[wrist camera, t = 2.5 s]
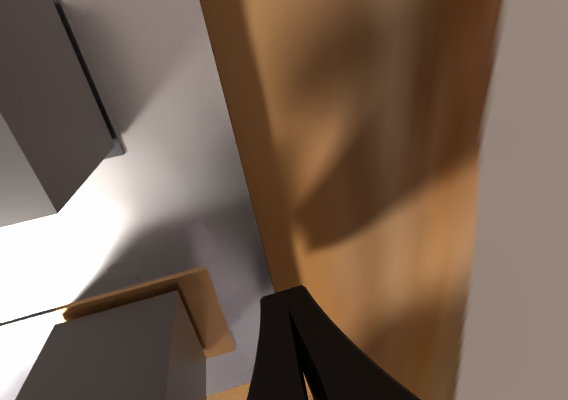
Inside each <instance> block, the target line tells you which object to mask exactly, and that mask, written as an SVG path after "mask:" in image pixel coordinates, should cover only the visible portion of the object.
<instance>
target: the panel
mask: <svg viewBox="0 0 568 400" xmlns="http://www.w3.org/2000/svg"><path fill="white" fill-rule="evenodd" d="M53 2H54V5H55V7H56V9H57V12H58V14H59V16H60V19H61V21H62V23H63V26H64V28H65V30H66V33H67V35H68V37H69V40H70V42H71V44H72V47H73V49H74V51H75V54H76V56H77V58H78V61H79V63H80V65H81V68H82V70H83V72H84V74H85V77H86V79H87V81H88V84H89V86H90V88H91V91H92V93H93V95H94V98H95V100H96V102H97V105H98V107H99V109H100V112H101V114H102V116H103V119H104V121H105V123H106V126H107V128H108V130H109V133H110V135H111V137H112V140H113V142H114V144H115V147H114V148H113V149H112V150H111V151H110V153H109V154H108V155H107V156H106V157H105V158H104V160H103V161H102V162H101V163H100V164H99V166H98V167H97V168H96V169H95V170H94V171H93V173H92V174H91V175H90V176H89V177H88V179H87V180H86V181H85V182H84V183H83V184H82V186H81V187H80V188H79V189H78V190H77V192H76V193H75V194H74V195H73V196H72V197H71V199H70V200H69V201H68V202H67V203H66V205H65V206H64V207H63V208H62V209H61V210H60V212H59V213H58V214H55V215H51V216H47V217H43V218H39V219H35V220H31V221H27V222H23V223H19V224H15V225H11V226H7V227H3V228H0V400H15V399H16V397H17V395H18V393H19V391H20V389H21V387H22V386H23V384H24V382H25V380H26V378H27V376H28V374H29V372H30V370H31V369H32V367H33V365H34V363H35V361H36V359H37V357H38V355H39V353H40V351H41V350H42V348H43V346H44V344H45V342H46V340H47V338H48V336H49V334H50V333H51V331H52V329H53V327H54V325H55V324H59V323H62V322H66V321H69V320H73V319H77V318H80V317H84V316H87V315H91V314H94V313H98V312H101V311H105V310H109V309H112V308H116V307H119V306H123V305H126V304H130V303H133V302H137V301H141V300H144V299H148V298H151V297H155V296H158V295H162V294H165V293H169V292H173V291H176V290H177V291H178V293H179V295H180V298H181V300H182V302H183V305H184V307H185V309H186V312H187V314H188V316H189V319H190V321H191V323H192V326H193V328H194V330H195V333H196V335H197V337H198V340H199V342H200V344H201V347H202V349H203V351H204V354H205V356H206V396H209V395H212V394H215V393H218V392H221V391H224V390H228V389H231V388H234V387H237V386H240V385H243V384H247V383H250V382H251V379H252V374H253V369H254V364H255V359H256V352H257V345H258V338H259V329H260V300H261V298H262V297H263V296H266V295H270V294H273V293H275V292H274V288H273V284H272V280H271V276H270V273H269V269H268V265H267V261H266V257H265V253H264V249H263V245H262V242H261V238H260V234H259V230H258V226H257V222H256V218H255V214H254V210H253V207H252V203H251V199H250V195H249V191H248V187H247V183H246V179H245V176H244V172H243V168H242V164H241V160H240V156H239V152H238V148H237V144H236V141H235V137H234V133H233V129H232V125H231V121H230V117H229V113H228V110H227V106H226V102H225V98H224V94H223V90H222V86H221V82H220V79H219V75H218V71H217V67H216V63H215V59H214V55H213V51H212V47H211V44H210V40H209V36H208V32H207V28H206V24H205V20H204V16H203V13H202V9H201V5H200V1H199V0H53Z"/></svg>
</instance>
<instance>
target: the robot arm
mask: <svg viewBox="0 0 568 400" xmlns="http://www.w3.org/2000/svg"><path fill="white" fill-rule="evenodd" d="M303 373H304V374H303ZM304 375H305V378H306V380H307V383H308V386H309V388H310V391H311V393H312V396H313V399H314V400H421V399H419V398H418V397H417V396H415V395H414V394H413V393H411V392H410V391H409V390H407V389H406V388H405V387H404V386H402V385H401V384H400V383H398V382H397V381H396V380H395V379H393V378H392V377H391V376H390V375H389V374H387V373H386V372H385V371H384V370H382V369H381V368H380V367H379V366H378V365H377V364H376V363H374V362H373V361H372V360H371V359H370V358H369V357H368V356H367V355H366V354H364V353H363V352H362V351H361V350H360V349H359V348H358V347H357V346H356V345H355V344H354V343H353V342H352V341H351V340H350V339H349V338H348V337H347V336H346V335H345V334H344V333H343V332H342V331H341V330H340V329H339V328H338V327H337V326H336V325H335V324H334V323H333V322H332V320H331V319H330V318H329V317H328V316H327V315H326V314H325V312H324V311H323V310H322V309H321V308H320V307H319V305H318V304H317V303H316V301H315V300H314V299H313V297H312V296H311V295H310V293H309V292H308V290H307V289H306V287H304V286H302V285H301V286H298V287H294V288H291V289H287V290H284V291H280V292H277V293H273V294H270V295H266V296H263V297H262V298H261V300H260V329H259V338H258V345H257V352H256V359H255V364H254V369H253V374H252V379H251V384H250V388H249V393H248V397H247V400H308V395H307V390H306V385H305V380H304Z"/></svg>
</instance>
